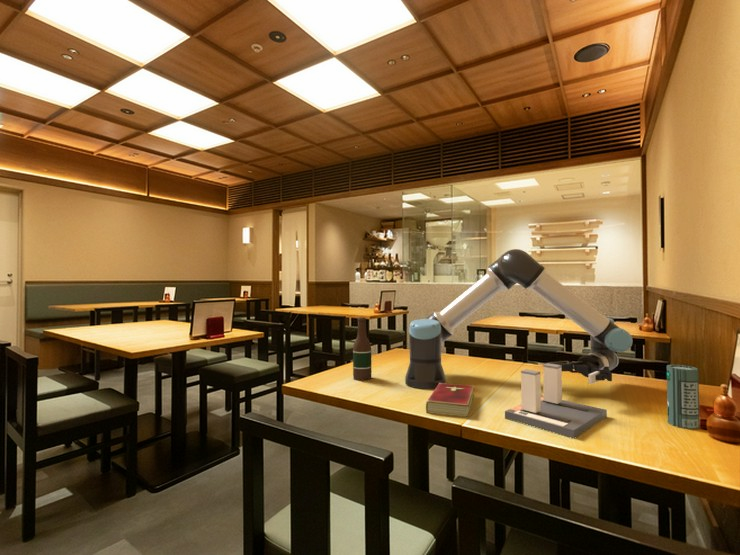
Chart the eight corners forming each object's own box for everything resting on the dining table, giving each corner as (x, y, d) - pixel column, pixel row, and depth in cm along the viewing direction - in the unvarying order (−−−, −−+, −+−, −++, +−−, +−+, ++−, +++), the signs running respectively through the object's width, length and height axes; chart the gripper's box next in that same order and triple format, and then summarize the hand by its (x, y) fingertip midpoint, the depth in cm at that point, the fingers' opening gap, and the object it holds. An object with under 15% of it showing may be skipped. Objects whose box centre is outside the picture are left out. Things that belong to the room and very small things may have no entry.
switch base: (504, 418, 104) (504, 370, 104) (542, 401, 118) (541, 359, 119) (573, 438, 90) (573, 383, 91) (606, 417, 105) (605, 369, 105)
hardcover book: (425, 414, 109) (425, 399, 109) (438, 394, 129) (438, 381, 129) (468, 419, 105) (468, 404, 105) (474, 397, 125) (474, 384, 125)
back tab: (543, 400, 112) (543, 364, 112) (548, 398, 114) (547, 363, 114) (557, 403, 109) (556, 366, 109) (562, 401, 110) (561, 365, 111)
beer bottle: (349, 377, 151) (349, 317, 152) (367, 375, 155) (366, 316, 155) (357, 381, 144) (356, 318, 145) (375, 379, 148) (374, 317, 148)
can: (687, 420, 101) (686, 364, 102) (704, 429, 95) (703, 370, 96) (662, 420, 102) (661, 364, 102) (679, 428, 96) (677, 369, 96)
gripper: (635, 383, 121) (611, 396, 108) (555, 369, 140) (527, 379, 127) (634, 359, 121) (611, 369, 108) (555, 349, 140) (527, 357, 127)
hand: (565, 375), depth 117 cm, fingers open, 13 cm apart
